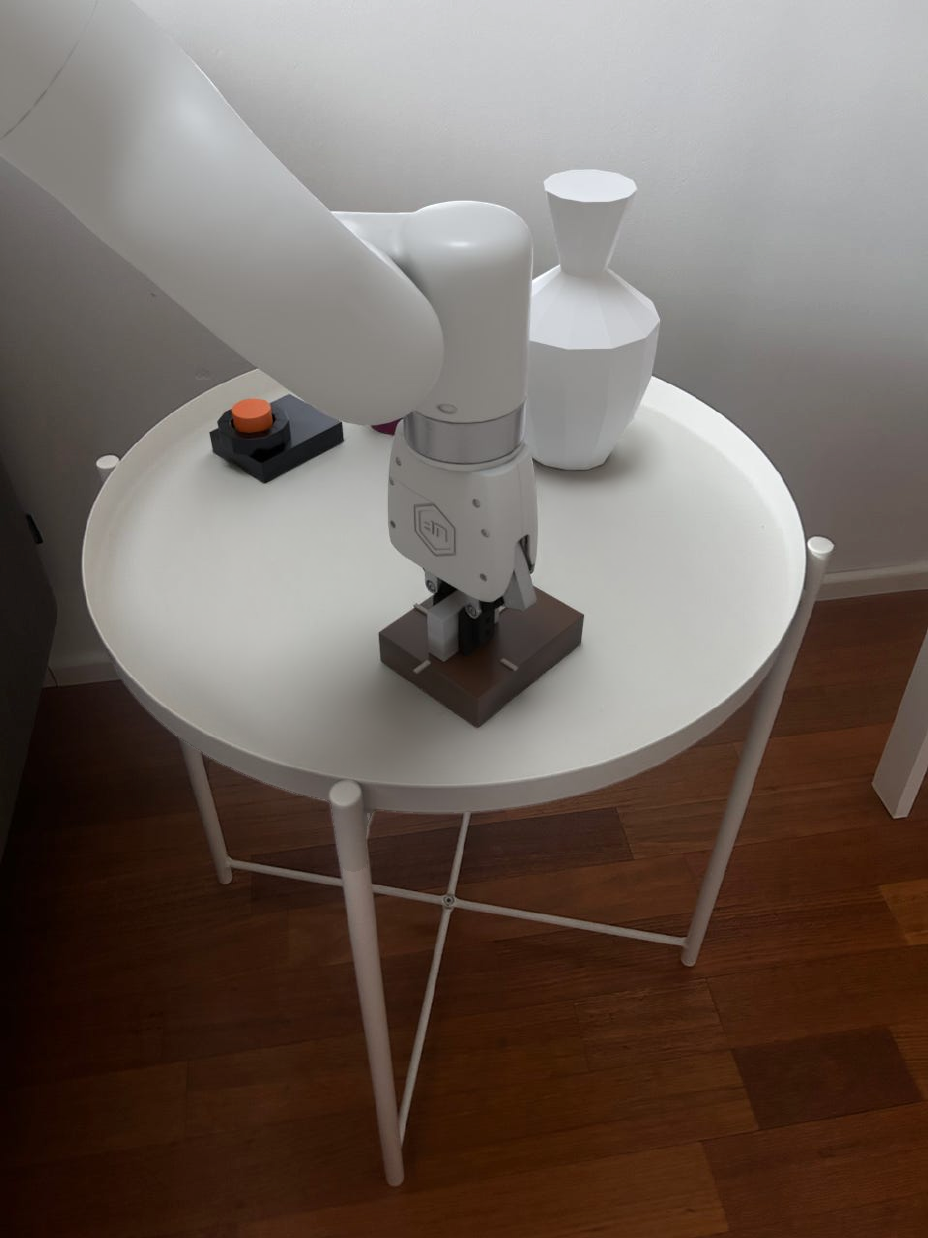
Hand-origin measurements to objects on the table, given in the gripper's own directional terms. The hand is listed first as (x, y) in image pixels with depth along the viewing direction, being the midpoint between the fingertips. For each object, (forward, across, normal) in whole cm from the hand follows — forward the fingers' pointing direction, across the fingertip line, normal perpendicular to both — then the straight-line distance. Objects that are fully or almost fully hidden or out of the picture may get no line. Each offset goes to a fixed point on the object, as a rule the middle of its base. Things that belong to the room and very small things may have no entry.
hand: (464, 635), depth 74 cm
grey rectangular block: (0, 0, 0) cm, 0 cm away
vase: (+3, -13, +29) cm, 32 cm away
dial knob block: (+3, 0, +2) cm, 4 cm away
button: (0, -34, +7) cm, 35 cm away
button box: (+3, -34, +10) cm, 36 cm away
